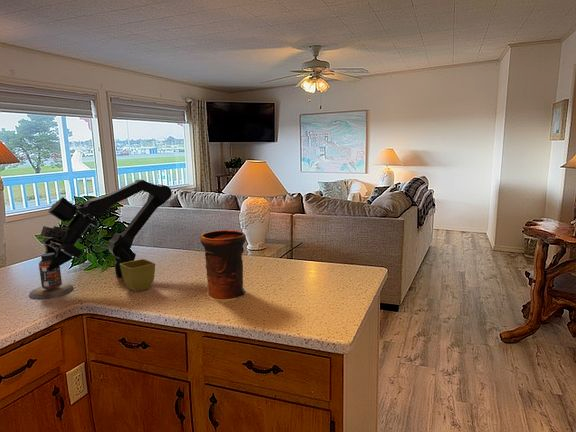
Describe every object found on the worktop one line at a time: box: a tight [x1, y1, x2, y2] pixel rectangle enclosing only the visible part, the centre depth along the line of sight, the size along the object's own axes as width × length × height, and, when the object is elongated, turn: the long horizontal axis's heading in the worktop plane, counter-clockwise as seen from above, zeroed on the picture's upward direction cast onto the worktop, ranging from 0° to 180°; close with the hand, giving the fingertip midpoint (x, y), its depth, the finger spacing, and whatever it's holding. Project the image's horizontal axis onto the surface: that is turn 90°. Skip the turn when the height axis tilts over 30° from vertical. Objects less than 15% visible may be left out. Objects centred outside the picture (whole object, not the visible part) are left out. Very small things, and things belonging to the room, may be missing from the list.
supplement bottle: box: [38, 253, 63, 289], centre depth 136 cm, size 6×6×11 cm
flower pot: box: [120, 258, 156, 293], centre depth 138 cm, size 9×9×9 cm
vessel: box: [199, 229, 247, 302], centre depth 131 cm, size 14×14×20 cm
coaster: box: [28, 282, 74, 300], centre depth 137 cm, size 13×13×1 cm
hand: (45, 268), depth 135 cm, fingers closed on supplement bottle, 6 cm apart
